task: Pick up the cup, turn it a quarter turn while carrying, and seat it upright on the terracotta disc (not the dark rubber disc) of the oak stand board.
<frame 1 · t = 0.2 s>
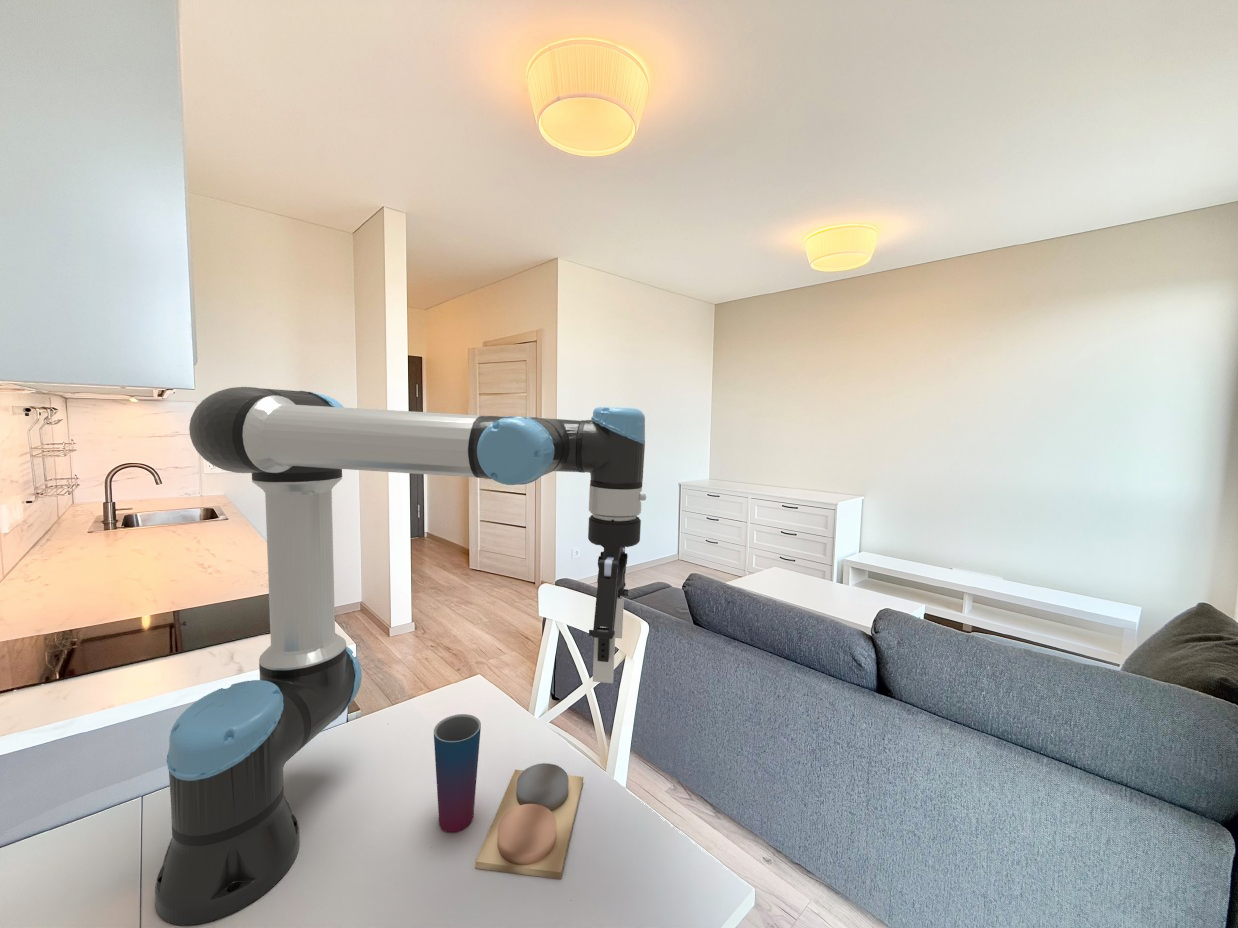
hand: (608, 657, 72), 27 cm above the table, fingers open, 13 cm apart
cup: (456, 820, 75), on the table
stand board: (535, 820, 76), on the table
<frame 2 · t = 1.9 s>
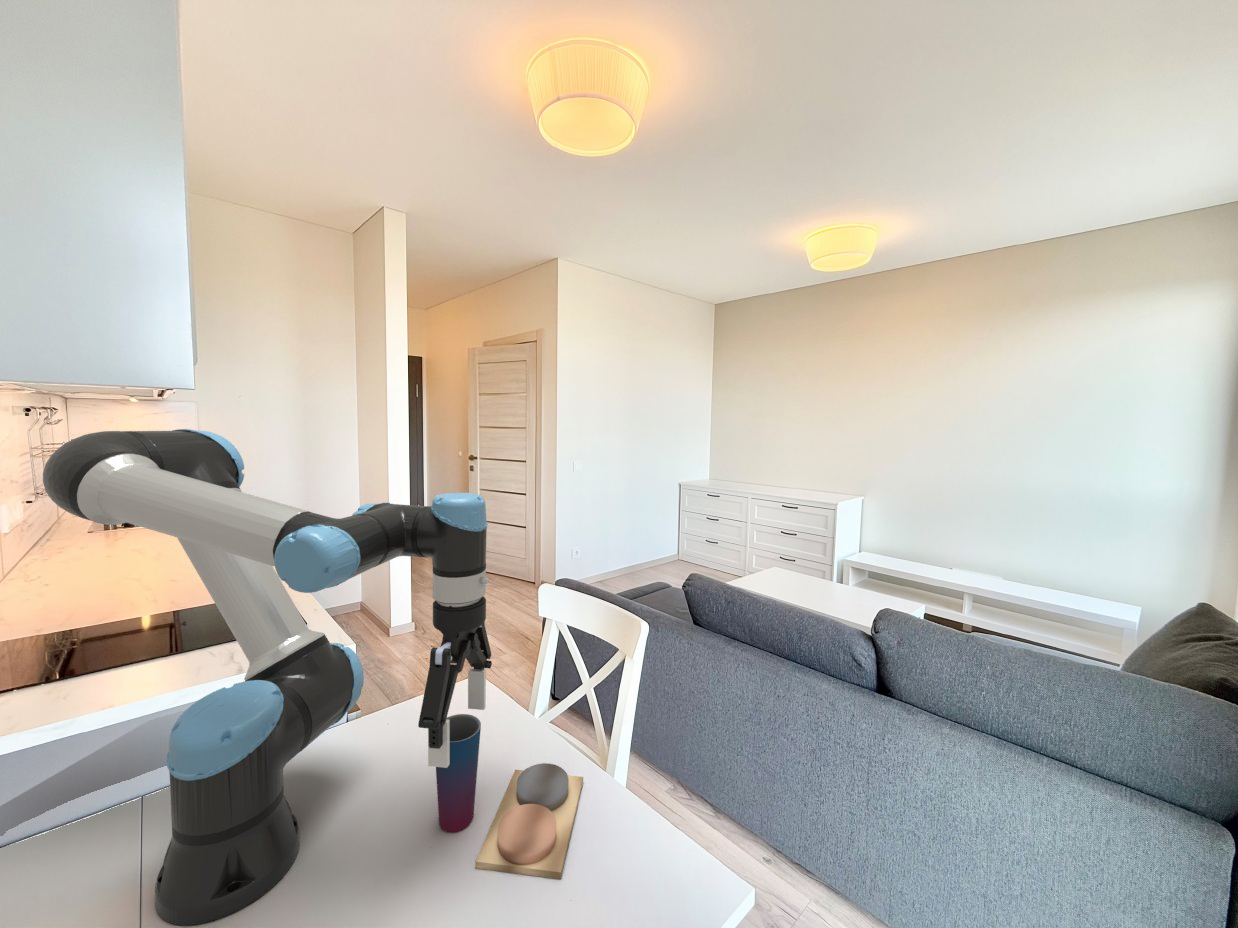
hand: (459, 734, 74), 14 cm above the table, fingers open, 13 cm apart
nothing on the table moved.
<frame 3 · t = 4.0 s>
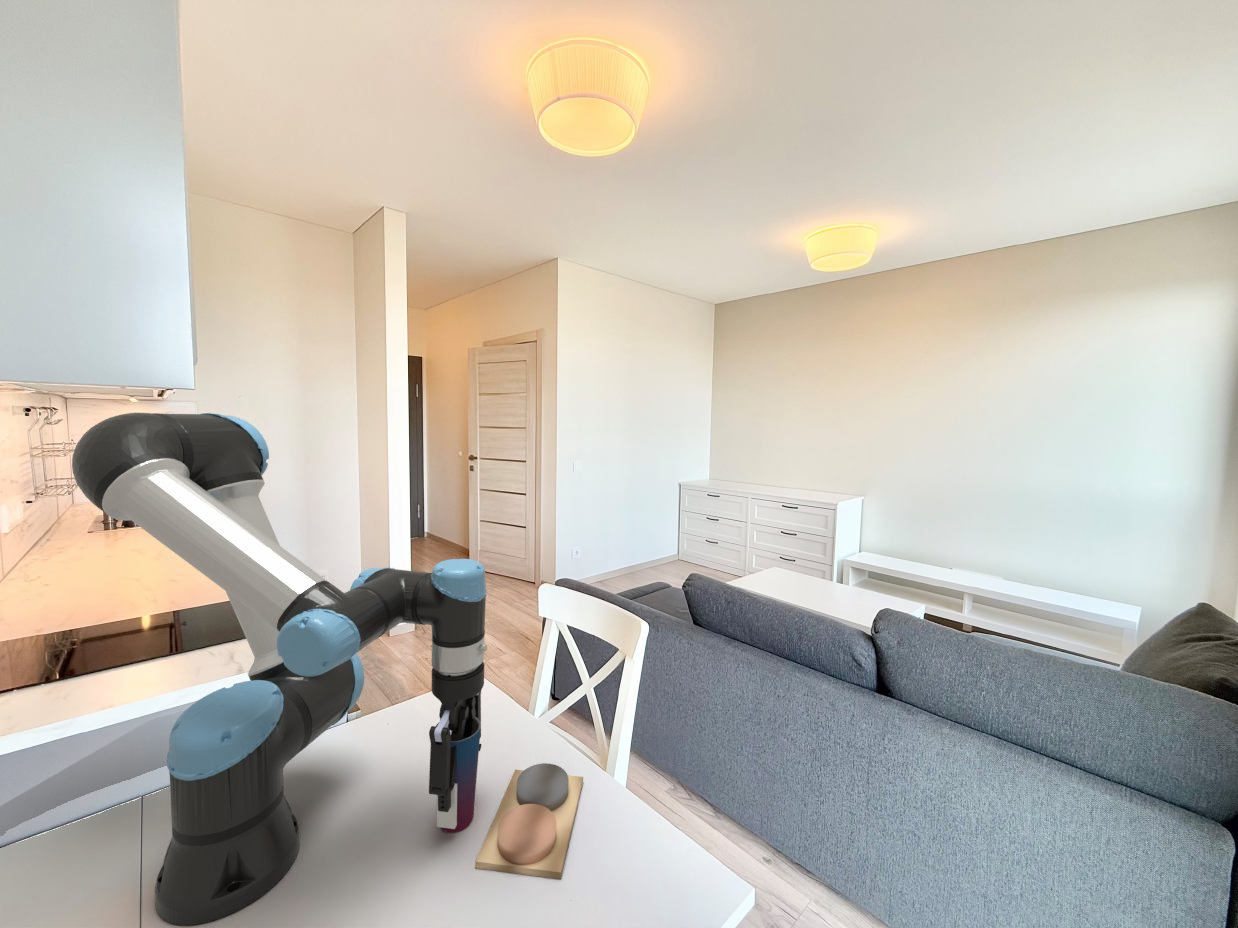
hand: (456, 807, 75), 2 cm above the table, fingers closed on cup, 6 cm apart
cup: (456, 820, 75), on the table, touching gripper
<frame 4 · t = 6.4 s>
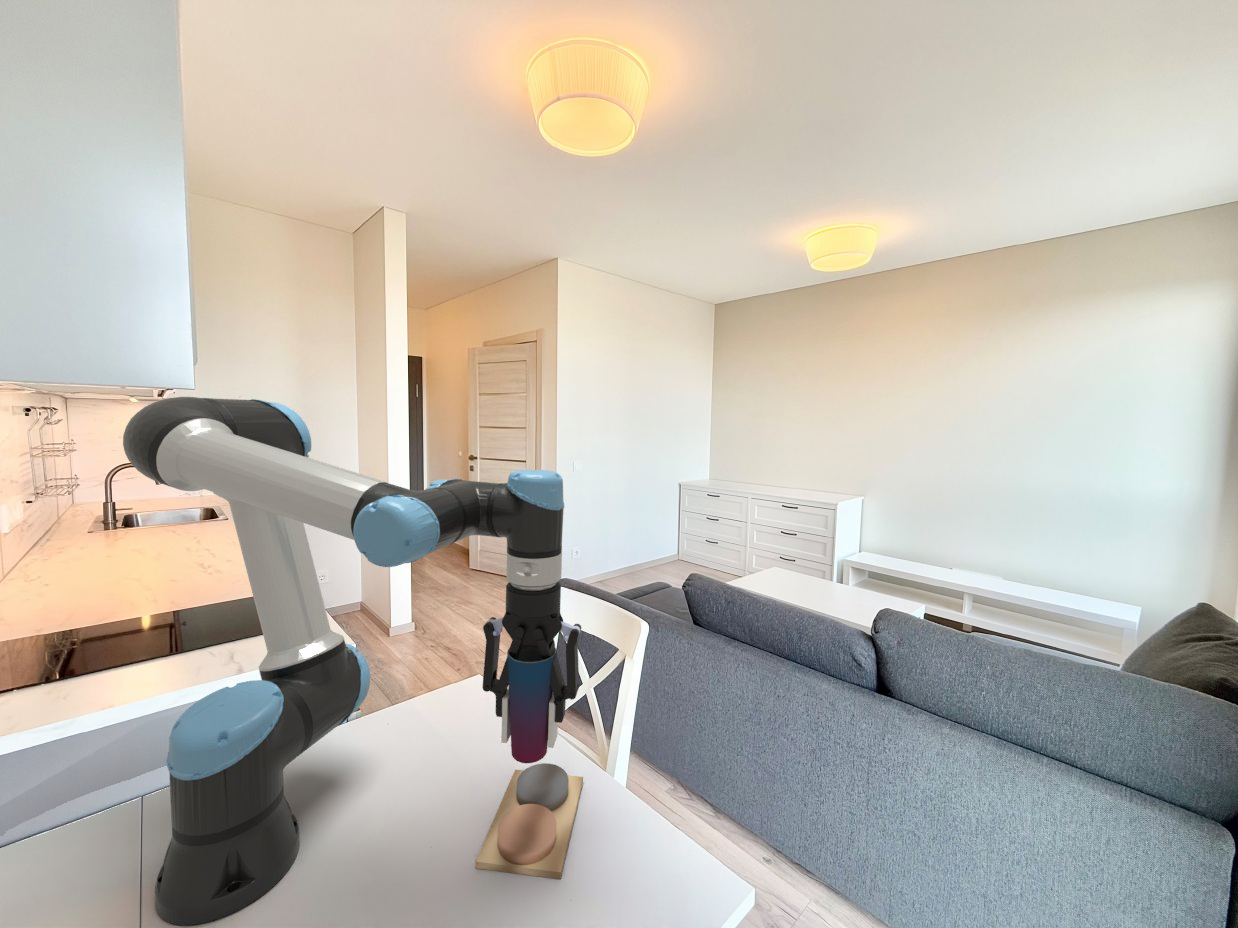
hand: (529, 738, 70), 16 cm above the table, fingers closed on cup, 6 cm apart
cup: (529, 752, 70), point 14 cm above the table, touching gripper
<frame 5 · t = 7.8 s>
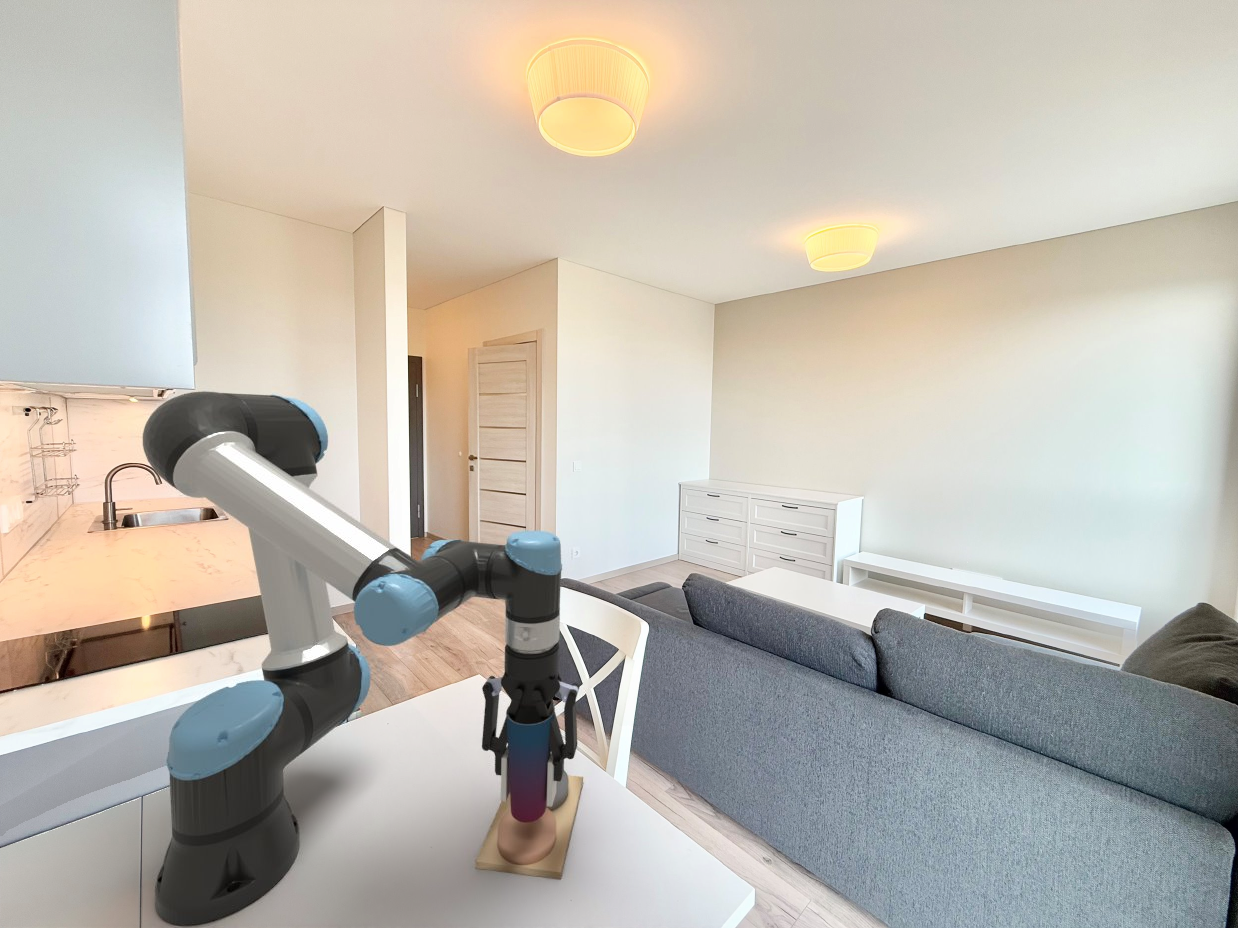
hand: (528, 796, 71), 8 cm above the table, fingers closed on cup, 6 cm apart
cup: (528, 809, 71), point 6 cm above the table, touching gripper
when the fingers open (6 cm above the table, at t = 8.9 s): cup stays where it is, resting on stand board.
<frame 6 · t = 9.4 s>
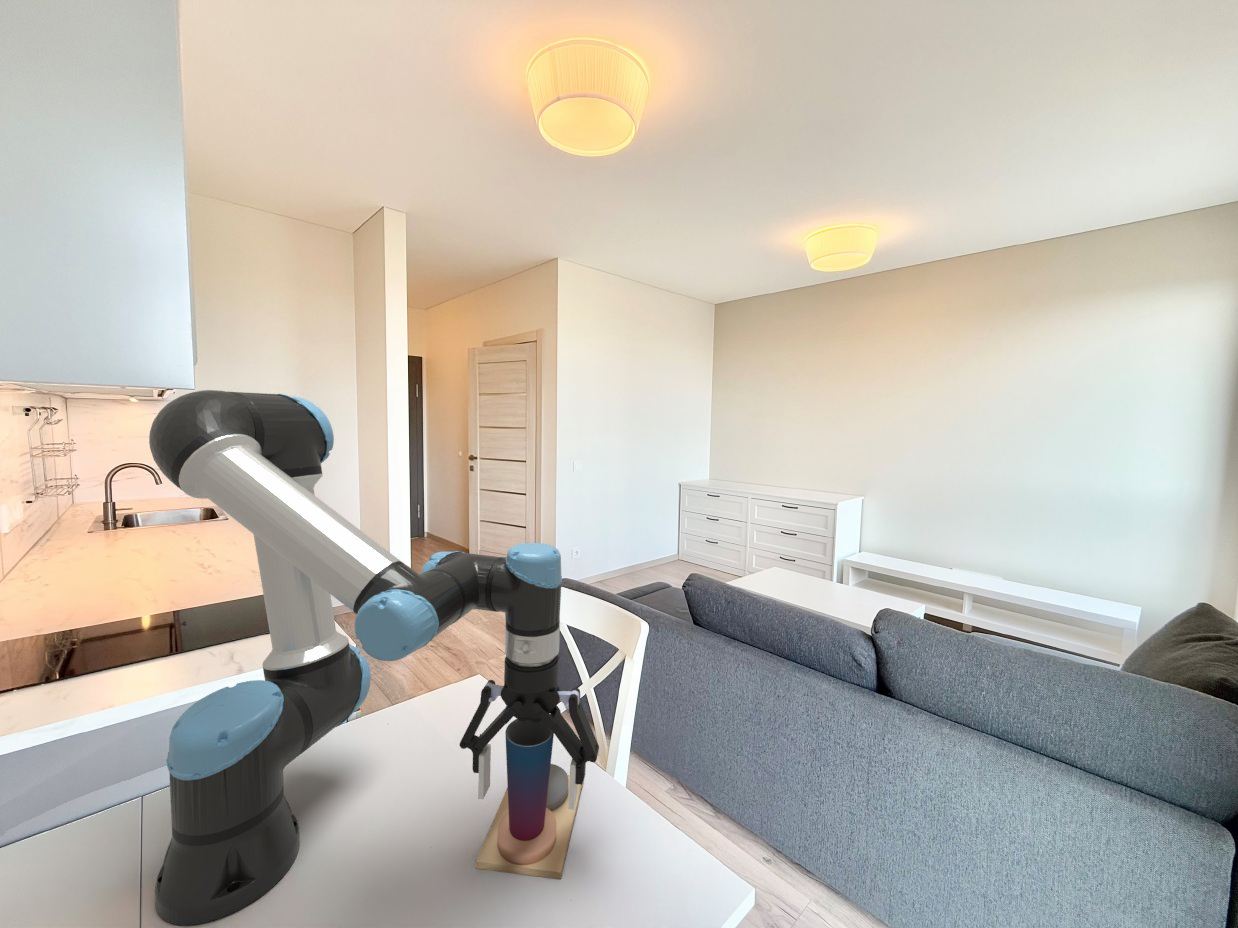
hand: (528, 797, 71), 8 cm above the table, fingers open, 12 cm apart
cup: (526, 826, 71), point 3 cm above the table, touching stand board
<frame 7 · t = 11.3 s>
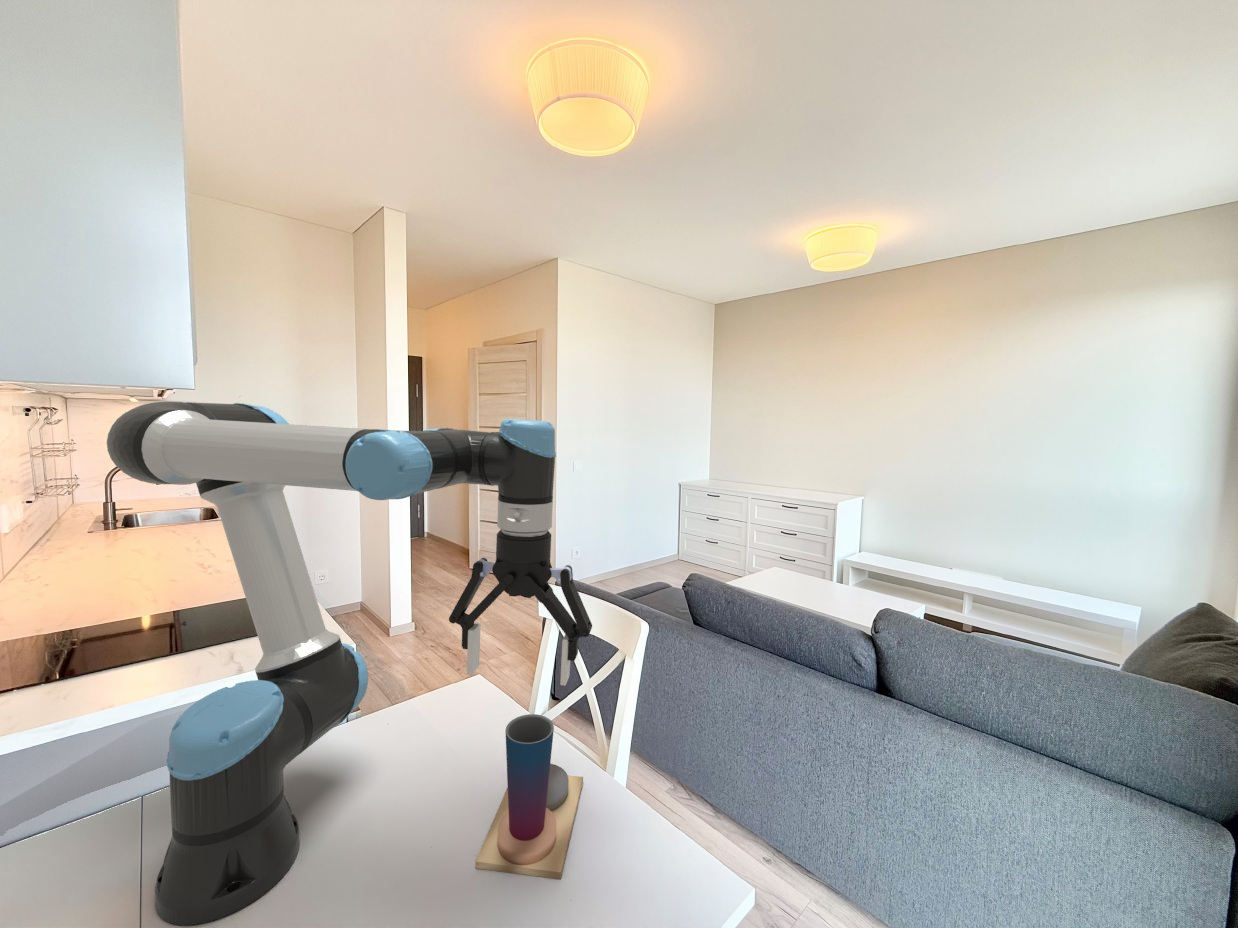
hand: (518, 675, 70), 25 cm above the table, fingers open, 13 cm apart
nothing on the table moved.
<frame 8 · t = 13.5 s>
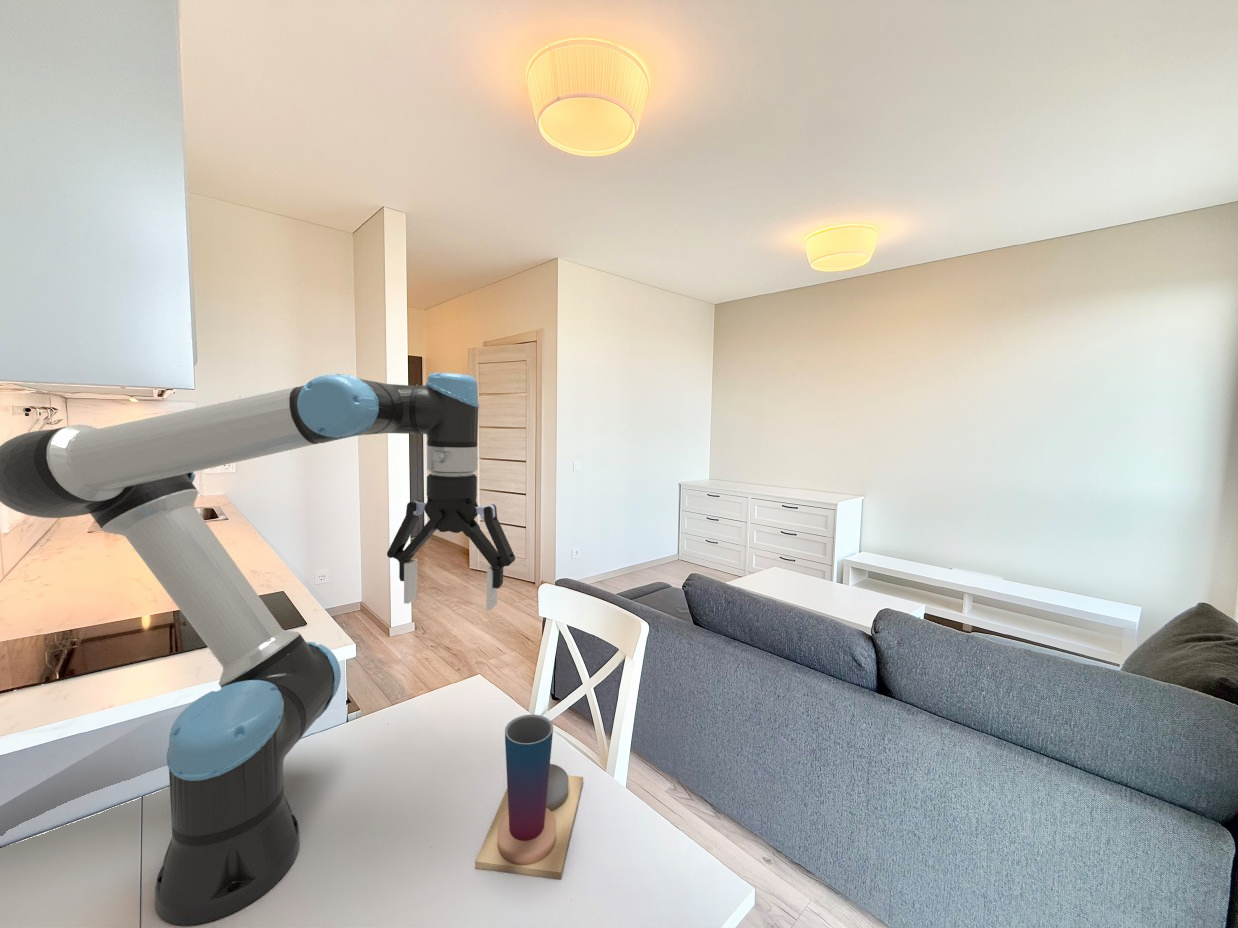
hand: (450, 603, 79), 32 cm above the table, fingers open, 13 cm apart
nothing on the table moved.
at the end: cup 0.1 cm from the target spot on the stand board, point 2.8 cm above the stand board's base; cup tilted 0°; the gripper is holding nothing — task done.
